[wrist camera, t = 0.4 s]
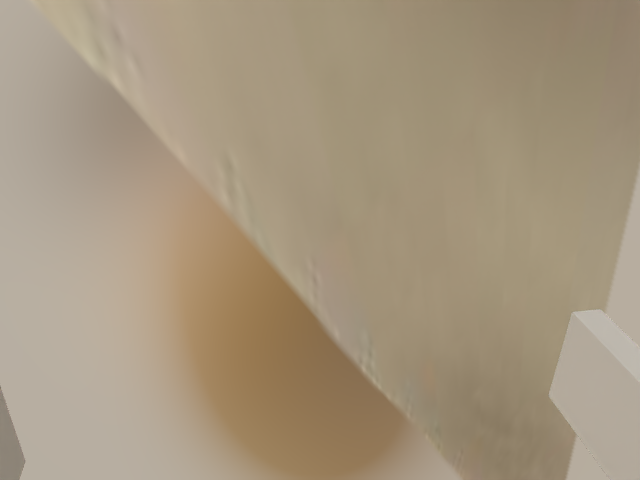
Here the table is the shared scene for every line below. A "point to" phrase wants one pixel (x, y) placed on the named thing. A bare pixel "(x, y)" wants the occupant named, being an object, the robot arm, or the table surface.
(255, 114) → the table surface
